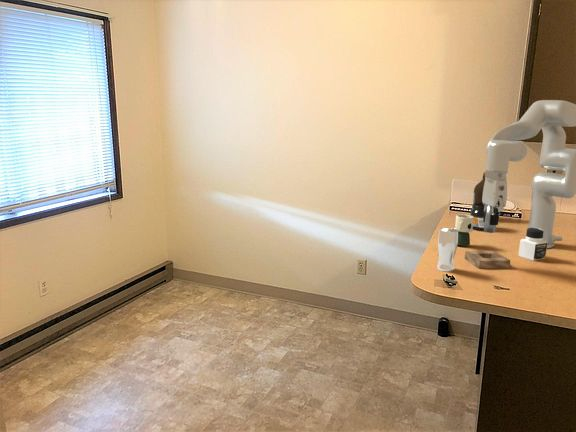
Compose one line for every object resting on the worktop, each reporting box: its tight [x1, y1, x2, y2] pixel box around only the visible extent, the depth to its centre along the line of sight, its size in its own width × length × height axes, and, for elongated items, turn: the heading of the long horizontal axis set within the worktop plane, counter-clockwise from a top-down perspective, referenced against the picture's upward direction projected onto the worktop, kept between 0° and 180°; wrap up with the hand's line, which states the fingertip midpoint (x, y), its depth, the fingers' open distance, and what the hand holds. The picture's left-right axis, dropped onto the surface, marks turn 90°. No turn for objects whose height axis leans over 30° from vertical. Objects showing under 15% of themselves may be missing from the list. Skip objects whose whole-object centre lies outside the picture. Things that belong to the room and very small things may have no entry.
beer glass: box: [436, 227, 458, 273], centre depth 182 cm, size 7×7×15 cm
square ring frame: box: [464, 250, 511, 269], centre depth 191 cm, size 12×12×3 cm
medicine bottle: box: [518, 227, 548, 262], centre depth 198 cm, size 7×7×12 cm
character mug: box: [454, 214, 474, 247], centre depth 213 cm, size 11×7×13 cm, turn 145°
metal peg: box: [483, 205, 498, 234], centre depth 187 cm, size 4×4×10 cm
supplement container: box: [469, 203, 485, 232], centre depth 243 cm, size 10×10×12 cm
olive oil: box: [472, 171, 486, 204], centre depth 261 cm, size 11×11×25 cm
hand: (490, 223), depth 188 cm, fingers closed on metal peg, 4 cm apart
